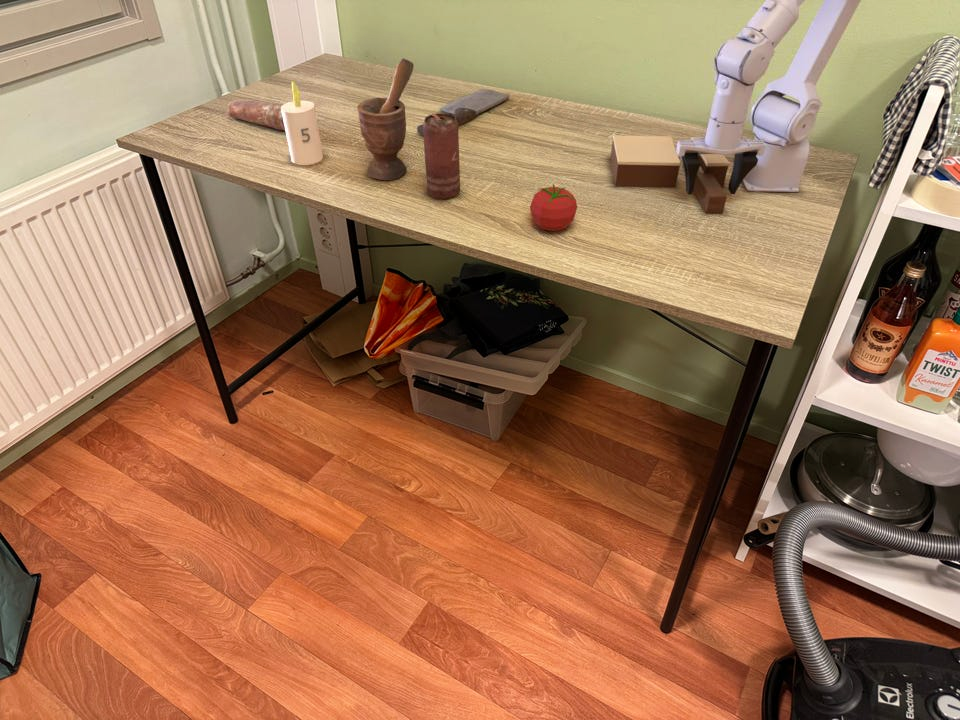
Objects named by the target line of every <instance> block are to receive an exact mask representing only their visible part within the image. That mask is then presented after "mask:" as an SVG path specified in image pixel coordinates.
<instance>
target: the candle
mask: <svg viewBox="0 0 960 720" xmlns="http://www.w3.org/2000/svg"><path fill="white" fill-rule="evenodd" d="M291 90H292V98H293V100H292V101H288V102H286V103H282V104H283V105H282V106H281V111H282V116H283V121H284V126H285V130H286V131H285V135H286V140H287V145H288V149H289V150H288V151H289V155H290V160H291V162H292V163H293V164H295V165H299V166H310V165H316V164H317V163H320V162H321V161H322V160H323V158H324V155H323V148H322V142H321V136H320V131H319V125H318V119H317V114H316V107H315V104H314V102H312V101H310V100H302V99H301V95H300V92H299V89H298V86H297V84H296V82H294V81H293V80H292V81H291Z"/></svg>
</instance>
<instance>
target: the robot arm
mask: <svg viewBox="0 0 960 720" xmlns="http://www.w3.org/2000/svg"><path fill="white" fill-rule="evenodd" d="M805 1H806V0H765V1H764V2H763V3H762V5H761V6H760V7H759V8H758V10H757V11H756V12H755V13H754V15H753V16H752V17H751V18H750V20H749V21H748V22H747V23H746V24H745V26H744V27H743V28H742V29H741V31H740V32H739V33H738V34H737V36H733V37H732V38H729V39H727V40H725V41H724V42H723V43H722V45H721V46H720V47H719V49H718V50H717V53H716V55H715V56H714V57H713V66H712V67H713V70H714V73H715V76H714V81H713V82H714V84H715V85H716V87H715V91H714V95H713V100H712V105H711V110H710V115H709V119H708V124H707V126H706V127H707V129H706V133H705V136H702V137H703V138H697V139H691V138H690V139H687V140H686V139H685V140H678V141H677V144H676V147H675V149H676V152H677V154H678V157H679V156H681V157H682V160H681V162H682V161H683V162H682V164H683V169H684V177H685V188H684V189H685V193H686V194H687V195H688V196H692V195H693V194H694V192H693V190H694V184H695V179H696V176H697V173H698V170H699V168H700V165H701V164H700V162H699V157H698V154H721V155H724V156H728V155H729V156H730V155H734V156H733V157H734V158H733V165H732V171H731V175H730V177H729V181H728V186H727V190H728V192H729V194H730V195H735V194H736V193H737V191H738V189H739V187H740V185H741V184H743V186H744V189H745V190H746V191H747V192H769V193H770V192H771V193H772V192H776V193H777V192H778V193H799V192H800V188H799V186H800V184H801V180H802V178H803V175H804V172H805V168H806V165H807V163H808V160H809V156H810V140H809V138H807V137H808V136H809V135H810V134H811V132H812V130H813V129H814V127H815V124H816V121H817V116H818V113H819V111H820V109H821V107H822V105H823V102H822V100H821V97H820V95H819V93H818V90H817V88H816V85H817V83H818V81H819V79H820V77H821V76H822V74H823V71H824V70H825V68H826V66H827V65H828V62H829V61H830V59H831V57H832V55H833V53H834V51H835V49H836V47H837V46H838V44H839V42H840V40H841V38H842V37H843V35H844V33H845V30H846V29H847V27H848V25H849V23H850V22H851V20H852V18H853V16H854V14H855V12H856V10H857V8H858V7H859V5H860V3H861V1H862V0H823V1H822V3H821V5H820V7H819V8H818V10H817V12H816V15H815V16H814V18H813V20H812V22H811V24H810V27H809V28H808V30H807V32H806V34H805V36H804V38H803V40H802V42H801V44H800V45H799V48H798V49H797V52H796V53H795V55H794V58H793V59H792V61H791V64H790V65H789V67H788V69H787V71H786V73H785V74H784V75H783V76H782V77H779V78H776V79H775V80H772V81H770V82H768V83H767V85H766V87H765V88H764V90H763V92H762V93H761V94H760V96H759V97H758V98H757V99H756V100H755V102H754V103H753V105H752V107H751V110H750V113H749V109H750V104H751V101H752V96H753V93H754V90H755V85H756V83H757V82H758V81H759V80H760V79H761V78H762V77H763V76H764V75H765V74H766V72H767V70H768V68H769V66H770V63H771V61H772V58H773V57H774V55H775V52H776V51H775V48H776V47H777V46H778V45H779V44H780V42H781V41H782V40H783V38H784V37H786V35H787V34H788V33H789V31H790V30H791V29H792V28H793V26H794V25H795V24H796V23H797V21H798V20H799V16H800V6H802V4H803V3H804V2H805ZM785 96H789V97H790V98H794V99H796V100H797V101H799V102H797V101H795V100H792V99H790V98H787V97H785ZM748 113H749V114H750V115H749V121H750V124H751V125H752V126H753V128H752V133H754V135H755V136H754V139H752V138H744V137H742V135H743V132H744V127H745V123H746V120H747V116H748Z"/></svg>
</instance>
